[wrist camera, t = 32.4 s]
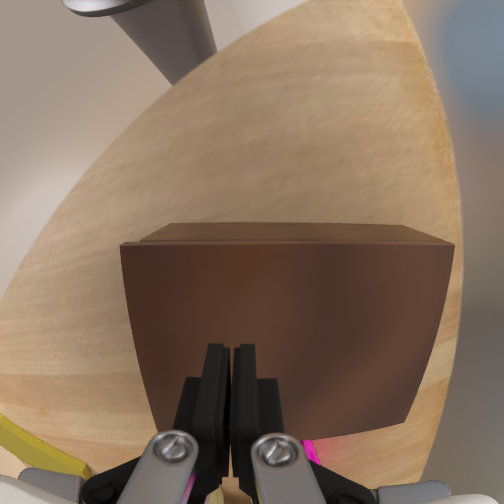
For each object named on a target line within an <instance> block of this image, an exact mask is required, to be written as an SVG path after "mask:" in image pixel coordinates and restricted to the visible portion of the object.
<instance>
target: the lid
mask: <svg viewBox="0 0 504 504" xmlns="http://www.w3.org/2000/svg"><path fill="white" fill-rule="evenodd" d="M454 248H455V244H452V243H450V242H419V241H172V242H125V243H123V244H121V245H120V254H121V263H122V272H123V279H124V287H125V294H126V300H127V306H128V312H129V318H130V324H131V329H132V334H133V339H134V344H135V349H136V353H137V358H138V362H139V366H140V371H141V375H142V379H143V383H144V386H145V390H146V394H147V397H148V401H149V405H150V408H151V411H152V415H153V418H154V421H155V424H156V428H157V431H158V433H159V432H162V431H165V430H172V428H173V424H174V420H175V416H176V412H177V408H178V405H179V401H180V397H181V393H182V390H183V386H184V382H185V379H186V377H187V376H188V377H201V376H202V372H203V367H204V362H205V357H206V352H207V348H208V343H224V347H229V348H230V367H231V387H232V372H233V357H234V347H240V344H255V352H256V374H257V378H277V381H278V388H279V395H280V402H281V410H282V417H283V424H284V432H285V434H289V435H291V436H293V437H295V438H296V439H297V440H299V441H304V440H314V439H322V438H330V437H337V436H343V435H349V434H355V433H360V432H365V431H370V430H375V429H379V428H384V427H388V426H392V425H396V424H400V423H404V422H405V420H406V417H407V415H408V413H409V411H410V408H411V406H412V404H413V401H414V399H415V396H416V394H417V391H418V389H419V386H420V383H421V381H422V378H423V375H424V373H425V370H426V367H427V364H428V361H429V358H430V355H431V352H432V348H433V345H434V342H435V338H436V335H437V331H438V328H439V324H440V320H441V316H442V312H443V308H444V303H445V299H446V294H447V290H448V285H449V279H450V274H451V268H452V262H453V255H454Z"/></svg>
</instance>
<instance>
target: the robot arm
mask: <svg viewBox="0 0 504 504" xmlns="http://www.w3.org/2000/svg"><path fill="white" fill-rule="evenodd" d="M230 445H231V457H232V468H233V477H239V489H241V490H242V491H243V492H245V493H246V494H247V495H249V496H250V497H251V504H499V503H498V502H496V501H495V500H494V499H492V498H491V497H489V496H485V495H480V494H479V495H478V494H477V495H476V494H468V495H458V496H451V492H450V489H449V487H448V486H447V485H446V484H445V483H444V482H441V481H438V480H430V481H424V482H418V483H410V484H402V485H392V486H379V487H378V488H377V489H367V488H365V487H364V486H362V485H360V484H357V483H355V482H353V481H351V480H349V479H347V478H345V477H343V476H341V475H338V474H336V473H334V472H333V471H331V470H329V469H327V468H325V467H323V466H321V465H319V464H317V463H315V462H314V461H312V460H310V459H308V458H307V455H306V453H305V450H304V448H303V446H302V444H301V443H300V441H299V440H297V439H296V438H295V437H293V436H291V435H289V434H285V432H284V424H283V417H282V410H281V402H280V395H279V388H278V381H277V378H257V374H256V352H255V344H240V347H234V357H233V372H232V387H231V367H230V348H229V347H224V343H208V348H207V352H206V357H205V362H204V367H203V372H202V376H201V377H188V376H187V377H186V379H185V382H184V386H183V390H182V393H181V397H180V401H179V405H178V408H177V412H176V416H175V420H174V424H173V428H172V430H165V431H162V432H159V433H157V434H156V435H155V436H153V437H152V439H151V440H150V441H149V443H148V445H147V447H146V449H145V450H144V452H143V454H142V456H140V457H137V458H135V459H133V460H131V461H129V462H126V463H124V464H122V465H120V466H117V467H115V468H113V469H110V470H108V471H105V472H103V473H100V474H98V475H95V476H93V477H91V478H89V479H84V478H83V477H82V476H79V475H72V474H65V473H59V472H54V471H48V470H44V469H39V468H31V467H30V468H27V469H24V470H23V471H22V472H21V473H20V474H19V476H18V479H16V478H13V477H10V476H5V475H1V474H0V504H208V502H209V498H210V493H212V492H213V491H215V490H217V489H218V488H219V484H220V485H222V477H228V475H229V455H230Z"/></svg>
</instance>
